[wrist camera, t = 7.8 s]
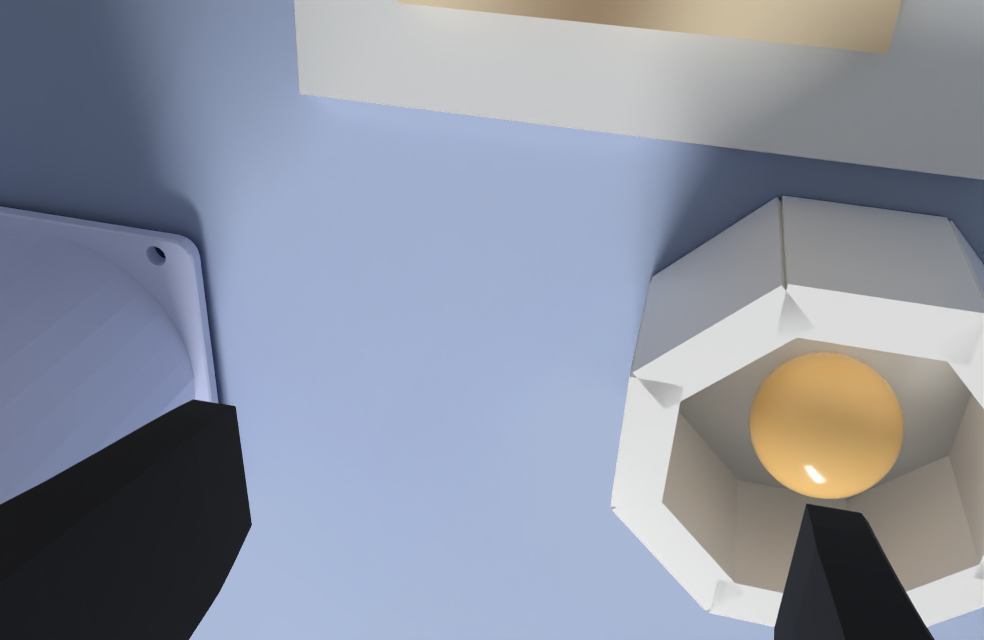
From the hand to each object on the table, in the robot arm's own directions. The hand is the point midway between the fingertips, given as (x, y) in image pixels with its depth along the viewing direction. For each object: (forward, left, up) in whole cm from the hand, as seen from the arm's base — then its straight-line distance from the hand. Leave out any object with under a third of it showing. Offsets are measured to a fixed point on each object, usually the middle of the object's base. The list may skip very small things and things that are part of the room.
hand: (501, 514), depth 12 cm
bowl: (+5, -3, -10) cm, 12 cm away
